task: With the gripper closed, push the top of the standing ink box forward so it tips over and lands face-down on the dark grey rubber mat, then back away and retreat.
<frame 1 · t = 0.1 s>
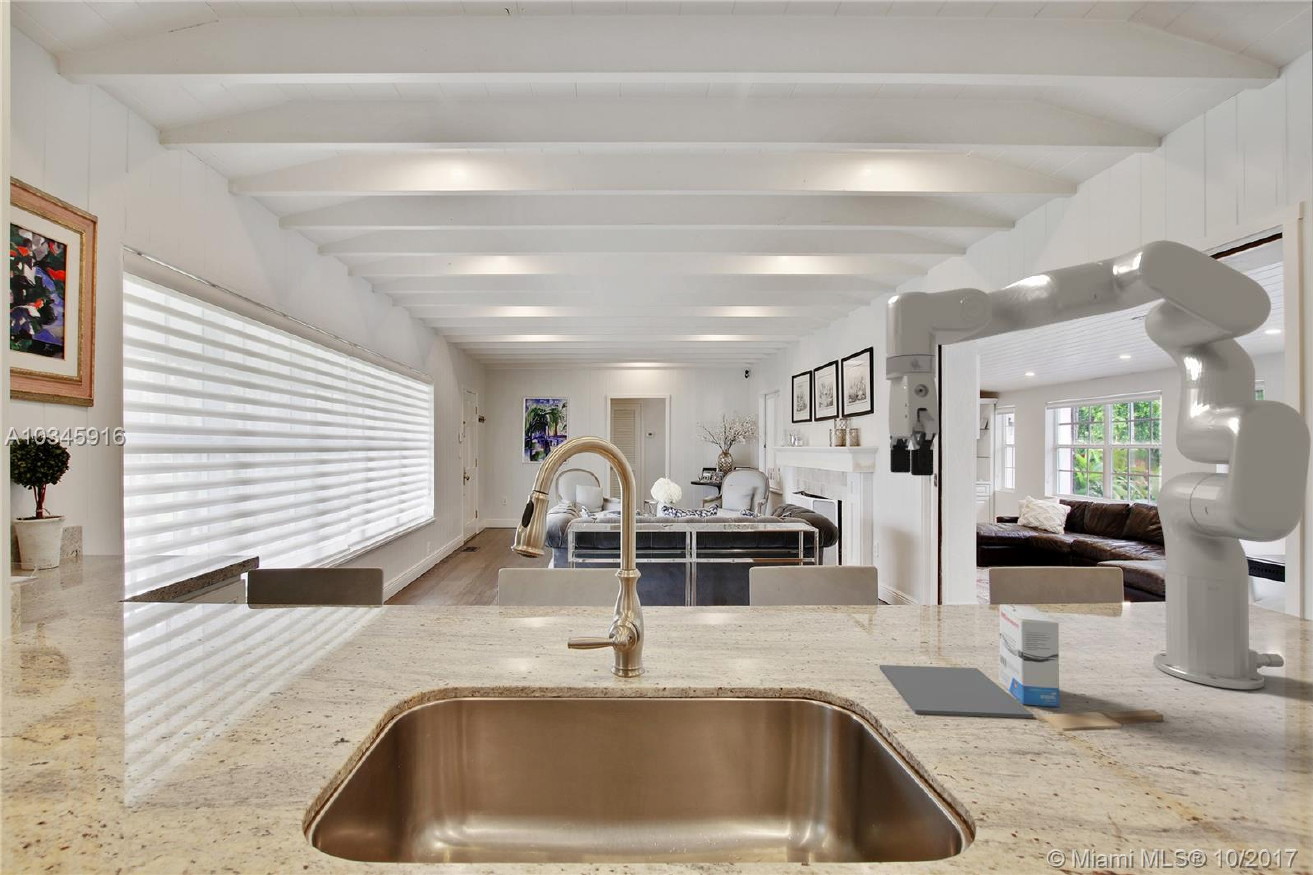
hand: (910, 473, 96), 31 cm above the worktop, fingers open, 9 cm apart
mat: (948, 690, 85), on the worktop
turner: (1102, 721, 76), on the worktop
ink box: (1027, 695, 84), on the worktop
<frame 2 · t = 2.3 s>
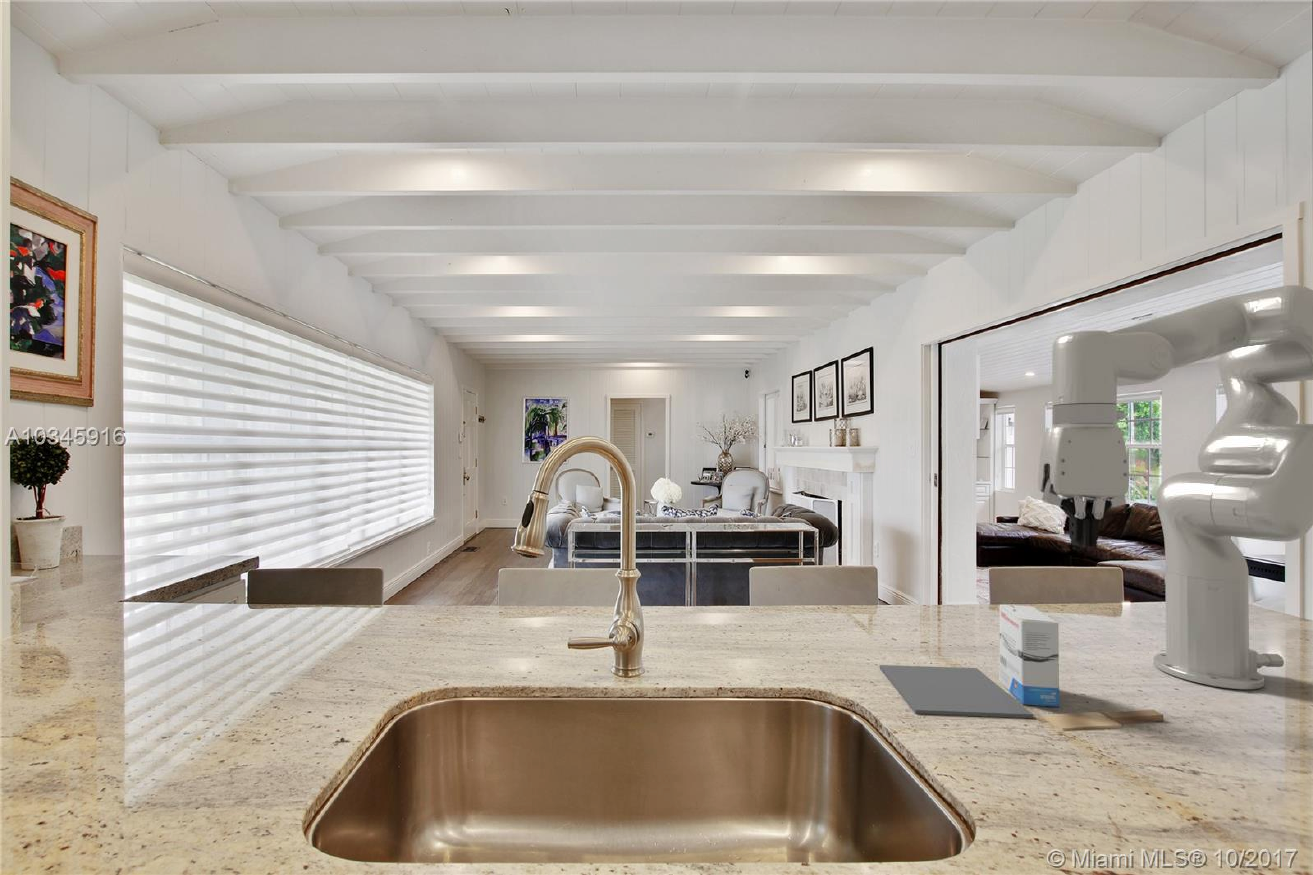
hand: (1083, 545, 84), 21 cm above the worktop, fingers closed
nothing on the worktop moved.
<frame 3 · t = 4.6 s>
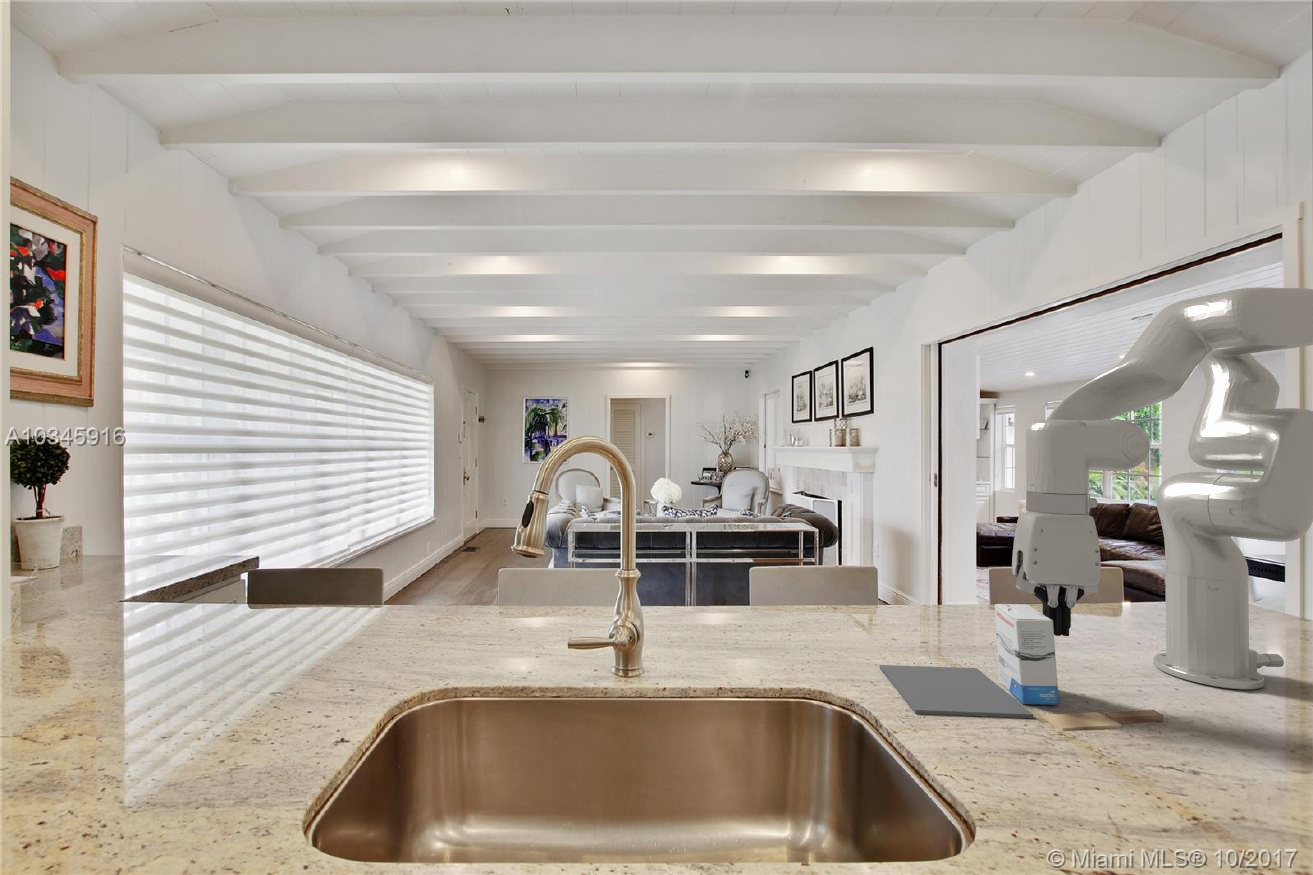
hand: (1056, 632, 84), 9 cm above the worktop, fingers closed
ink box: (1027, 694, 84), on the worktop, touching gripper
everything else where it was.
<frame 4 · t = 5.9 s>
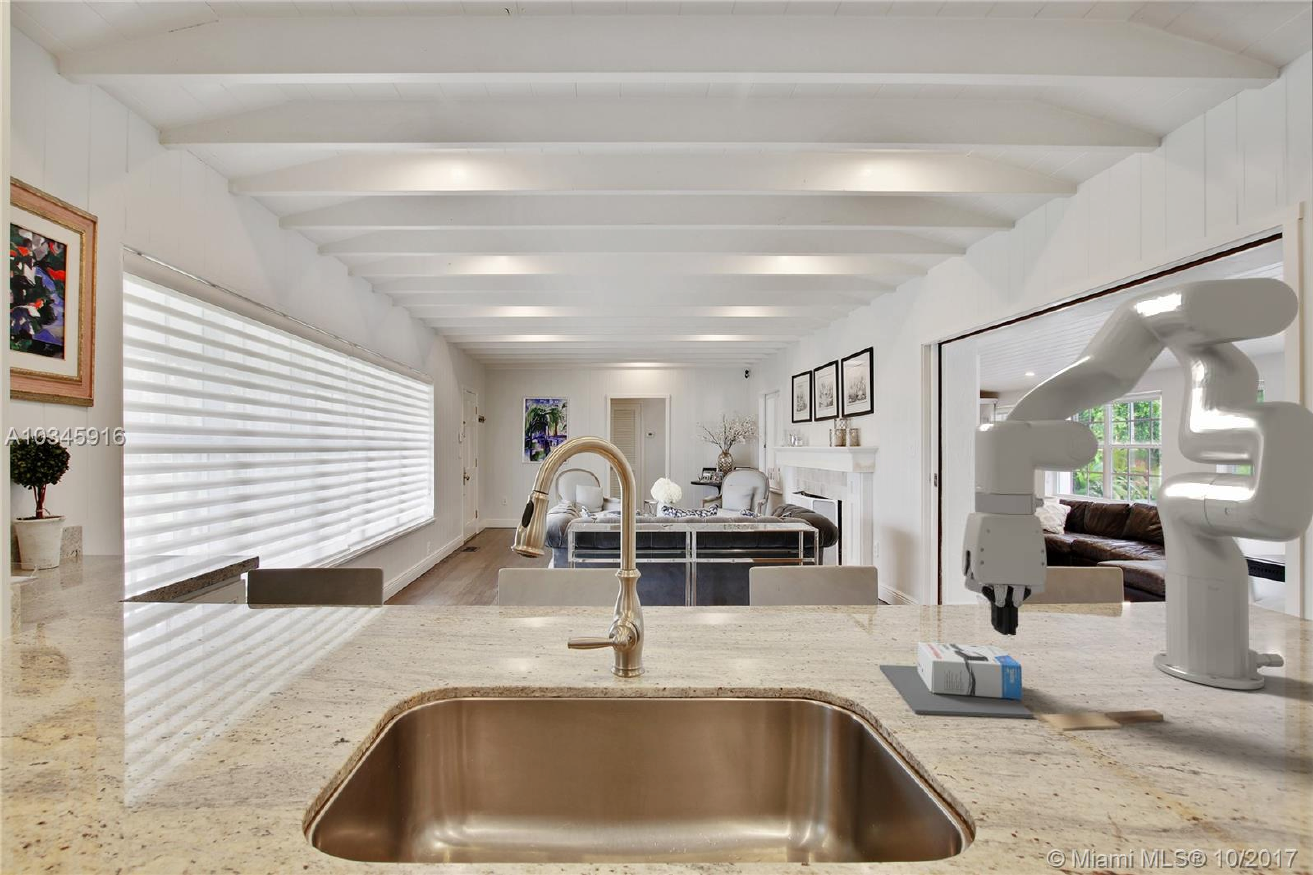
hand: (1004, 632, 85), 9 cm above the worktop, fingers closed
ink box: (1011, 671, 85), point 3 cm above the worktop, touching mat
everything else where it was.
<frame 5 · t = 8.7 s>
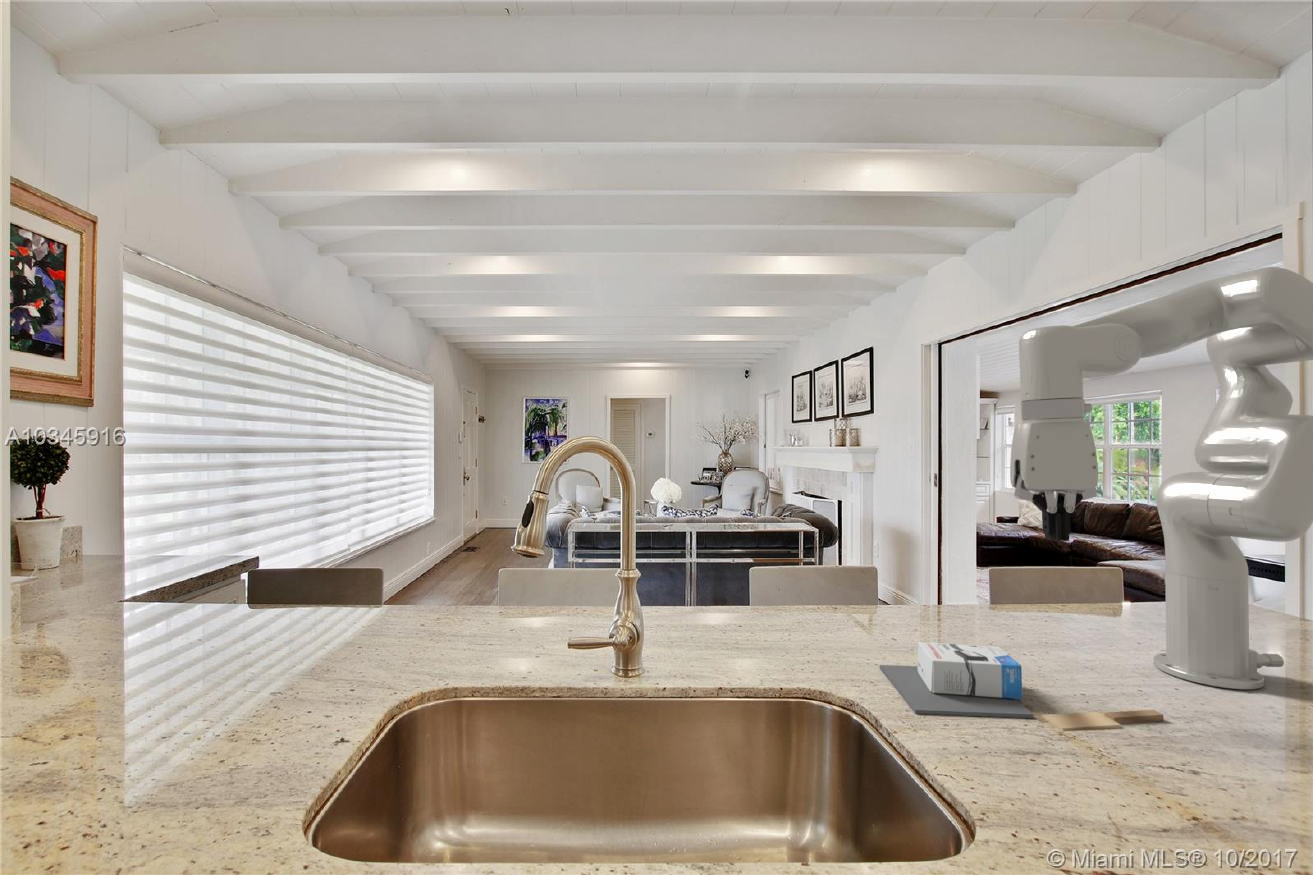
hand: (1056, 539, 85), 22 cm above the worktop, fingers closed
nothing on the worktop moved.
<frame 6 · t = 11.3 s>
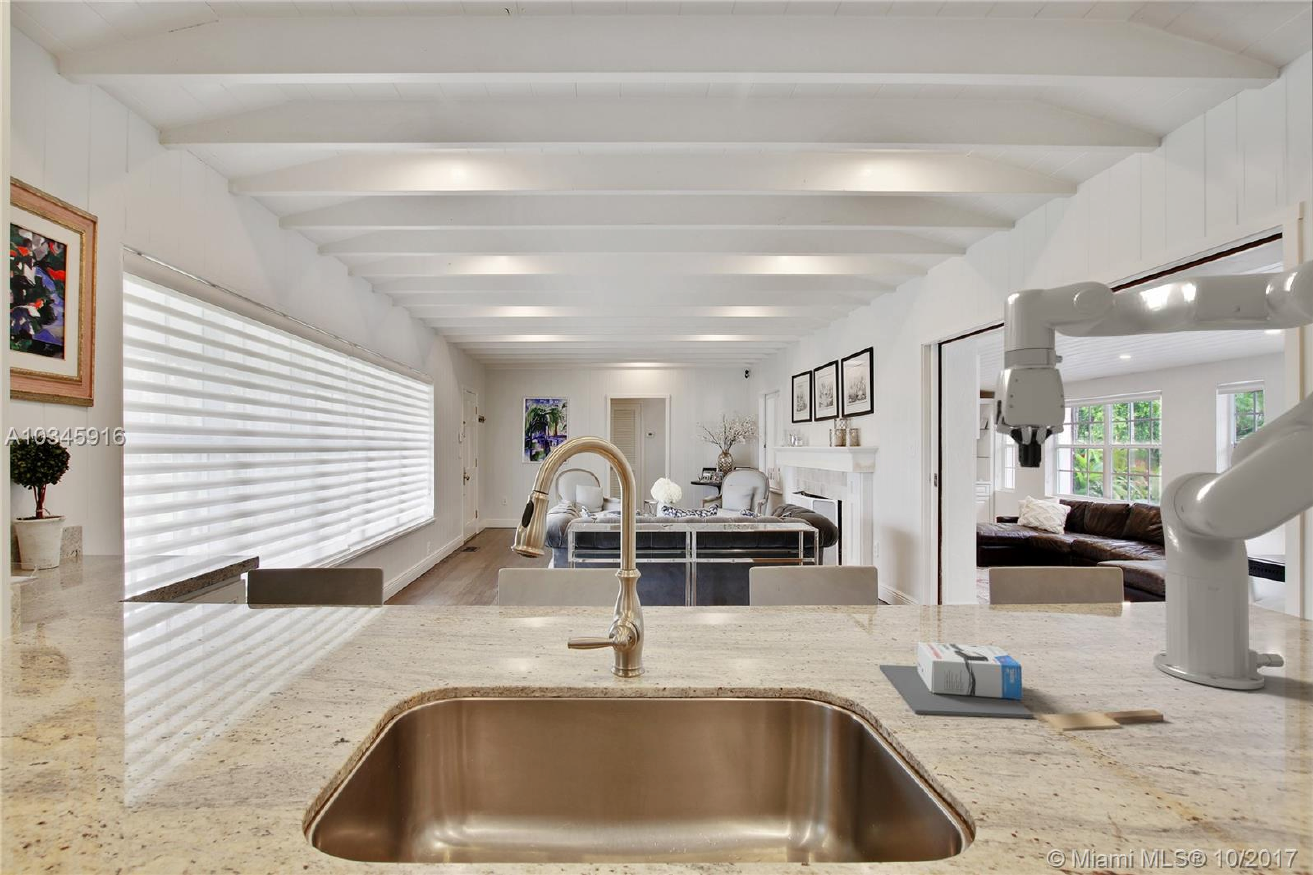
hand: (1029, 467, 102), 32 cm above the worktop, fingers closed
nothing on the worktop moved.
at the end: ink box tilted 90°; ink box inside the target area (7.9 cm from its centre), point 3.0 cm above the worktop; the gripper is holding nothing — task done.
